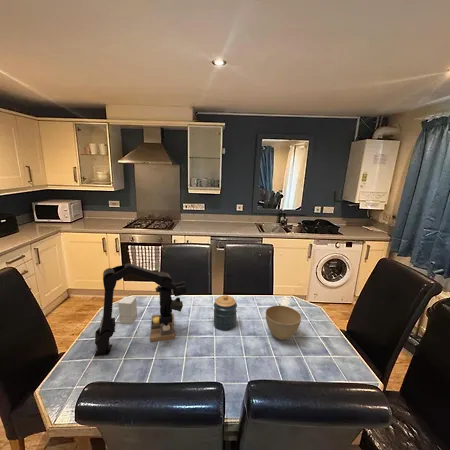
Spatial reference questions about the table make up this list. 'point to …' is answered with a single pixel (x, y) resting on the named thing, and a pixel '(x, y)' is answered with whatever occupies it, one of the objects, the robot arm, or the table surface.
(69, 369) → the table surface
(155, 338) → the brown button box
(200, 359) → the table surface
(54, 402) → the table surface
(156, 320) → the mustard button
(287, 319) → the tan bowl
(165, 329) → the cream button
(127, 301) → the supplement box
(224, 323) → the canister
